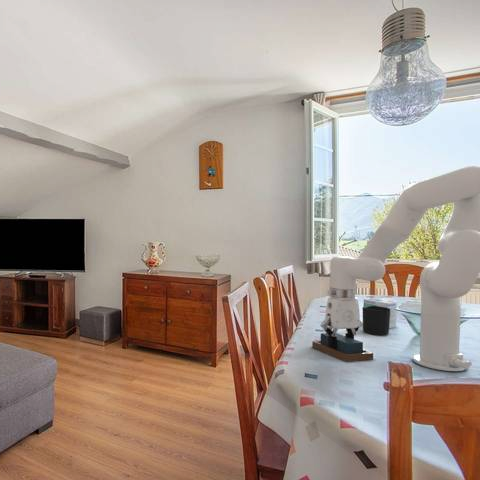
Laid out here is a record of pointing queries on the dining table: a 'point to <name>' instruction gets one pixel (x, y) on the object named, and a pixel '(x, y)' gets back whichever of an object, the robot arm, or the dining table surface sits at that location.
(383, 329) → the pen holder
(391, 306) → the light bulb box
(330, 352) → the frame
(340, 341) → the back pad
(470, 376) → the dining table surface
